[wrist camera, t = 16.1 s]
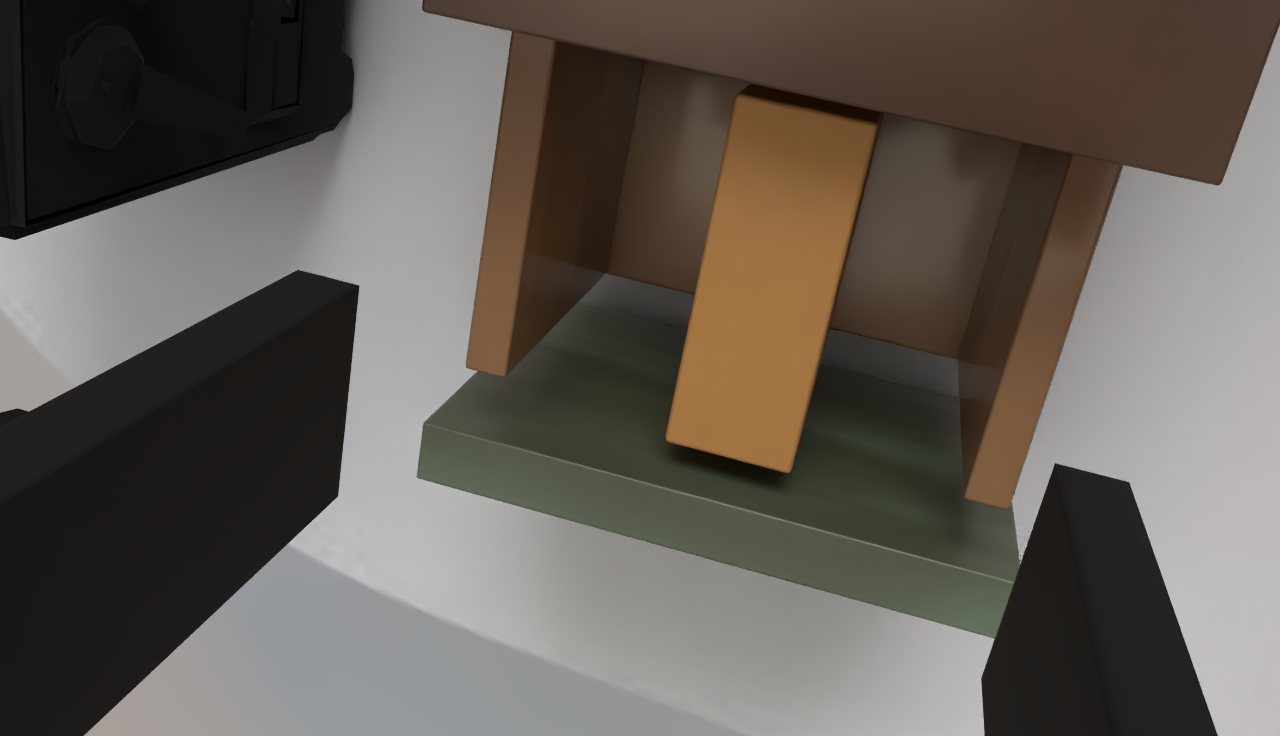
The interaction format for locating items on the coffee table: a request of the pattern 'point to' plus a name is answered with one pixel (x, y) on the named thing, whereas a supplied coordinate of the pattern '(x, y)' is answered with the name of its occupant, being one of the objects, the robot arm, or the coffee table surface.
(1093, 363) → the coffee table surface
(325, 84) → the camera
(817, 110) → the orange rectangular block
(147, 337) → the coffee table surface
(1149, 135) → the cabinet
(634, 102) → the drawer
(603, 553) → the coffee table surface
